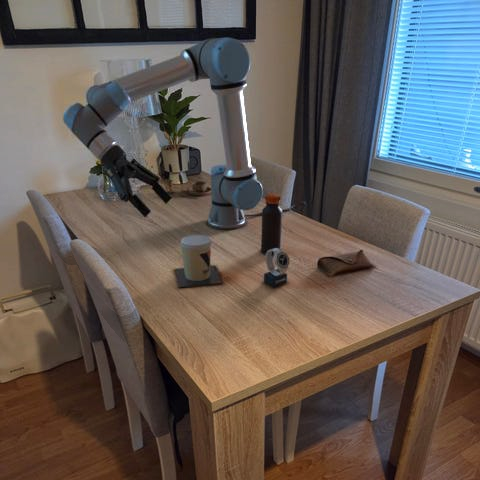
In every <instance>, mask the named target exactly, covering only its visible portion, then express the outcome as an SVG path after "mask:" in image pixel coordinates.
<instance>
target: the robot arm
mask: <svg viewBox="0 0 480 480" xmlns="http://www.w3.org/2000/svg"><path fill="white" fill-rule="evenodd" d="M250 68H251V57H250V53H249V50H248V49H247V47H246V45H245V44H244V43H243V42H242V41H240V40H239V39H236V38H233V37H229V36H228V37H218V38H217V37H211V38H207V39H205V40H202V41H201V42H199V43H196V44H194V45H192V46H190V47H188V48H185V49H183V50H181V52H180V54H179V55H177V56H174V57H171V58H169V59H166V60H164V61H161V62H159V63H156V64H153V65H151V66H147V67H144V68H142V69H139V70H137V71H134V72H132V73H131V72H130V73H128V74H126V75H123V76H121V77H117V78H115V79H112V80H110V81H107V82H104V83H102V84H95V85H92V86H89V88H88V89H87V90H86V93H85V99H86V103H87V104H86V105H83V104H82V103H81V102H75V103H73V104H72V105H70V106H68V108H67V109H66V110H65V112H64V113H63V116H62V121H63V123H64V124H65V125H66V127H67V128H68V129H69V130H70V131H71V133H72V134H73V135H74V136H75V137H76V138H77V139H78V140H79V141H80V142H81V143H82V144H83V145H84V147H86V149H88V151H89V152H90V153H91V154H92V155H93V156H94V157H95V158H96V160H98V161H100V164H101V165H102V166H103V167H104V168H105V169H106V170H107V171H106V176H107V177H108V179H110V182H111V183H112V186H113V187H114V189H115V191H116V193H117V195H118V197H119V199H120V201H123V202H124V203H128V202H129V203H130V204H131V205H132V206H133V207H134V208H135V209H136V210H138V212H139V213H140V214H141V215H142V216H143V217H144V218H147V217H148V215H149V214H150V213H152V210H151V209H150V208H149V207H148V206H147V205H146V203H144V201H143V200H142V199H140V197H139V196H138V195H137V194H136V193H134V192H133V190H132V185H131V181H130V180H131V179H137V180H138V181H139V182H142V183H144V184H146V185H148V186H150V187H151V189H152V191H153V192H154V193H155V194H156V195H157V197H159V199H160V200H161V201H162V202H163V203H164V204H165V205H167V204H168V203H170V201H171V199H172V196H171V195H170V193H168V191H166V190H165V189H164V188H163V187H162V186H161V184H160V183H159V181H160V177H159V176H158V175H156V174H155V173H154V172H153V171H151V170H150V169H148V168H147V167H145V165H143V164H141V163H140V162H139V161H138V160H137V159H136V158H133V157H132V159H131V160H128V159H127V152H126V151H125V150H124V149H123V148H122V147H121V146H120V145H119V144H117V141H116V140H115V139H114V138H113V137H112V136H111V135H110V133H108V132H107V130H105V128H106V127H107V126H109V124H111V123H112V122H113V121H114V120H115V119H117V117H119V115H121V114H122V113H123V112H125V111H126V109H127V108H128V107H129V106H130V105H131V103H133V102H135V101H137V100H141V99H143V98H145V97H148V96H150V95H155V94H157V93H159V92H162V91H164V90H167V89H169V88H172V87H174V86H177V85H180V84H183V83H185V82H187V81H189V82H190V83H195V82H197V81H200V80H209V86H210V90H211V92H213V93H214V94H215V95H216V101H217V107H218V113H219V121H220V128H221V136H222V141H223V142H222V143H223V148H224V149H223V150H224V156H225V162H226V163H225V164H220V165H219V164H218V165H214V166H212V167H211V169H210V176H209V177H210V188H211V193H210V195H211V207H210V209H209V213H208V217H207V224H208V226H209V227H211V228H213V229H218V230H235V229H238V228H241V227H243V226H245V225H246V218H249V217H258V216H262V212H259V213H253V214H244V211H250V210H253V209H255V208H256V207H258V205H259V203H260V202H261V201H262V199H263V196H264V188H263V184H261V182H260V181H259V180H257V170H256V167H255V166H254V165H252V163H251V154H250V145H249V137H248V136H249V135H248V128H247V119H246V110H245V100H244V90H245V88H246V86H247V84H248V83H247V75H248V73H249V71H250ZM300 205H304V206H307V205H308V204H307V203H306V202H305V201H300V202H298V203H296V204H293V205H291V206H290V207H288V208H285V209H282V213H284V212H289V211H291V209H293V208H296V207H298V206H300Z"/></svg>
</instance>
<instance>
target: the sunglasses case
mask: <svg viewBox="0 0 480 480" xmlns="http://www.w3.org/2000/svg"><path fill="white" fill-rule="evenodd" d="M316 266H317V269H318V270H320V271H321V272H322V273H323V274H325V275H327V276H329V277H334V276H337V275H341V274H347V273H352V272H357V271H362V270H366V269H370V268H374V267H375V265H373V264H372V262H371V261H370V260H369V258H368V257H367V255H366V254H365V253H364V250H363V249H360V250H357V251H356V250H355V251H351V252H345V253H340V254H334V255H330V256H329V255H328V256H323V257H320V258H318V259H317V263H316Z"/></svg>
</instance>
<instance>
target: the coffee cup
mask: <svg viewBox="0 0 480 480" xmlns="http://www.w3.org/2000/svg"><path fill="white" fill-rule="evenodd" d="M179 242H180V248H181V256H182V262H183V268H184V271H185V276H186V278H187V279H189V280H192V281H201V280H205V279H207V278H208V277H209V276H210V266H211V255H212V252H211V249H212V240H211V238H210V237H209V236H207V235H205V234H188V235H186V236H183V237H182V238H181V240H180V241H179Z"/></svg>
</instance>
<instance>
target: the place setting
mask: <svg viewBox="0 0 480 480" xmlns="http://www.w3.org/2000/svg"><path fill="white" fill-rule="evenodd" d="M166 182H167V186H168V187H169V191H167V193H168V194H174V193H175V192H174V191H173V189H172V186H173V184H174V182H173V179H167V181H166ZM187 193H188V195H189V196H188V195H184V194H182V193H179V195H180V196H182V197H187V198H191V199H195V196H196V197H204V196H207V195H211V187H208V186H207V182H205V181H193V182H192V184H191V187H189V188H187ZM190 195H191V196H190Z"/></svg>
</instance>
